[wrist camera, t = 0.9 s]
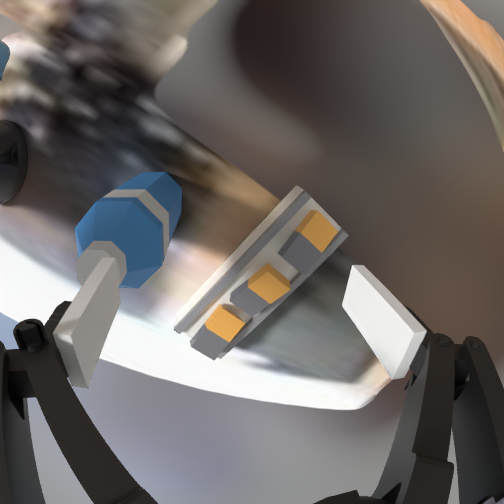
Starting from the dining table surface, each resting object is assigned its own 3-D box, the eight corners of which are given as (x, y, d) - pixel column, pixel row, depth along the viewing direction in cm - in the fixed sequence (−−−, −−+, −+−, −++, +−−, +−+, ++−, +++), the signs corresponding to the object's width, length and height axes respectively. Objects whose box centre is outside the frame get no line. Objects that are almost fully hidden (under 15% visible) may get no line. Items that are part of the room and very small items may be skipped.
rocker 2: (230, 292, 46) (229, 301, 45) (267, 262, 43) (267, 271, 41) (252, 308, 48) (252, 316, 46) (289, 280, 45) (290, 289, 43)
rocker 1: (189, 341, 47) (191, 346, 45) (219, 303, 47) (222, 308, 45) (212, 354, 48) (214, 360, 46) (241, 318, 49) (245, 323, 47)
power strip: (176, 313, 52) (173, 330, 47) (296, 184, 46) (305, 191, 41) (219, 341, 55) (220, 358, 51) (336, 225, 49) (348, 235, 45)
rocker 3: (277, 253, 43) (282, 256, 41) (311, 209, 43) (317, 210, 41) (298, 271, 44) (304, 275, 42) (331, 229, 44) (338, 231, 43)
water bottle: (170, 237, 47) (136, 338, 24) (117, 215, 44) (42, 295, 21) (194, 184, 44) (172, 244, 21) (138, 160, 41) (60, 195, 18)
